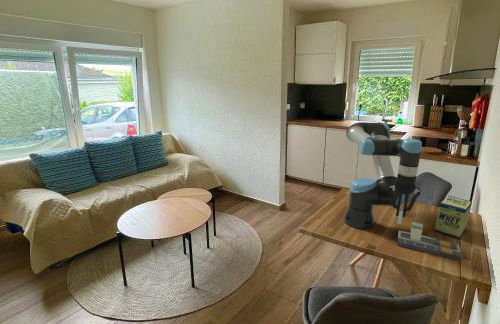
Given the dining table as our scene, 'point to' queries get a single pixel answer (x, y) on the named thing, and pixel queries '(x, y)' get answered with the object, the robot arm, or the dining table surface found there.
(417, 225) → the fader knob
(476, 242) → the dining table surface
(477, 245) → the dining table surface
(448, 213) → the protein box
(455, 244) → the console board
